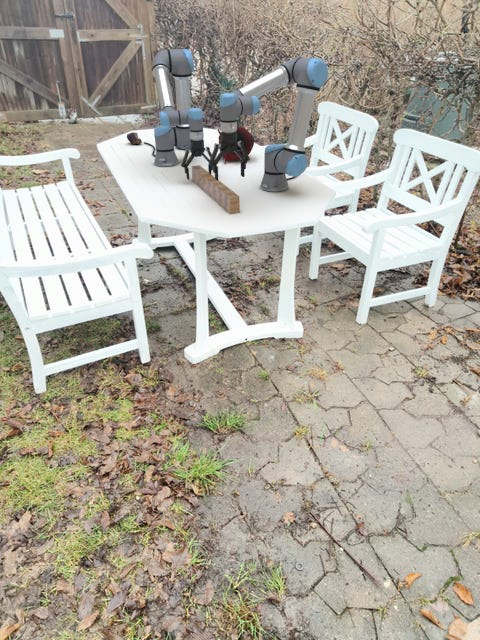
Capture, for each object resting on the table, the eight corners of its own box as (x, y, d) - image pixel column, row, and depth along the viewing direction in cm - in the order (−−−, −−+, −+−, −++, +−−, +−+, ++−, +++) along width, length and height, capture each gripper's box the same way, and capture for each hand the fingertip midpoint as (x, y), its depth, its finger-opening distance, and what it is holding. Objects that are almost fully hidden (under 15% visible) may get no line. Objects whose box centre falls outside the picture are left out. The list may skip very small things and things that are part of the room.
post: (192, 179, 266) (191, 166, 261) (200, 178, 267) (199, 165, 263) (230, 213, 221) (229, 197, 216) (239, 212, 222) (239, 196, 218)
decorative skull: (215, 132, 306) (215, 129, 282) (249, 124, 305) (251, 121, 281) (222, 164, 313) (222, 164, 289) (255, 157, 312) (258, 156, 288)
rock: (138, 143, 345) (126, 144, 341) (137, 131, 341) (124, 132, 337) (143, 144, 336) (130, 145, 331) (141, 131, 332) (128, 132, 328)
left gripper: (177, 142, 242) (180, 182, 254) (220, 138, 250) (221, 176, 262) (173, 139, 247) (176, 178, 259) (215, 135, 255) (216, 173, 267)
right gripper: (205, 135, 198) (208, 183, 210) (256, 130, 206) (256, 176, 219) (200, 132, 204) (202, 179, 216) (250, 127, 212) (249, 172, 224)
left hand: (199, 177), depth 260 cm, fingers open, 13 cm apart
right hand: (229, 177), depth 217 cm, fingers open, 13 cm apart
